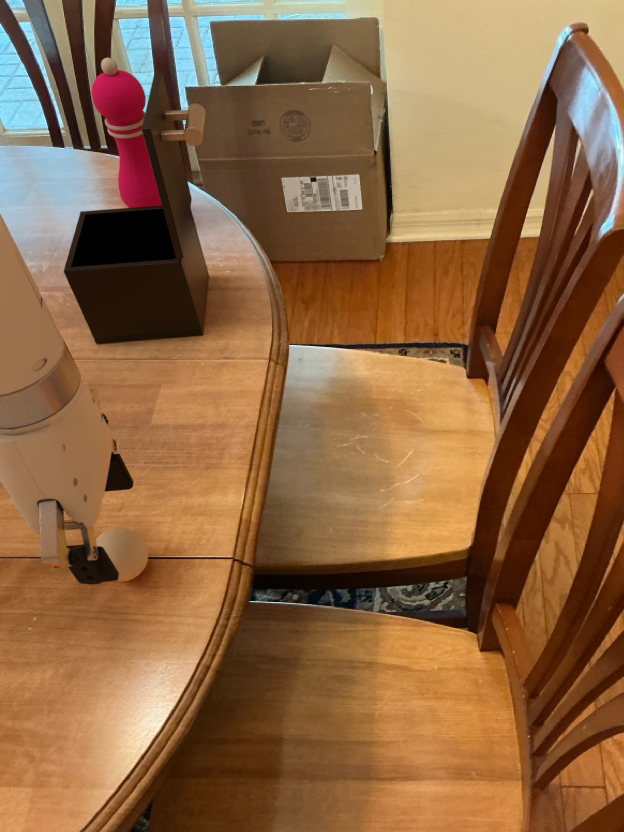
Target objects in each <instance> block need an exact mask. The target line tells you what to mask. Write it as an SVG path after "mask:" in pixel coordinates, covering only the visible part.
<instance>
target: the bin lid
mask: <svg viewBox="0 0 624 832" xmlns="http://www.w3.org/2000/svg"><path fill="white" fill-rule="evenodd" d="M151 81H152V82H151V86H150V91H149V95H148V98H147V99H148V100H147V103H146V108H145V111H144V112H145V117H144V121H143V125H142V132H143V136H144V140H145V143H146V147H147V151H148V155H149V158H150V162H151V166H152V170H153V173H154V177H155V181H156V185H157V188H158V192H159V196H160V200H161V203H162V207H163V211H164V214H165V218H166V222H167V226H168V229H169V233H170V237H171V241H172V244H173V248H174V252H175V256H176V258H184V252H185V244H186V237H187V230H188V222H189V215H190V208H191V209H192V194H191V190H190V186H189V181H188V177H187V173H186V167H185V165H184V159H183V156H182V151H181V147H180V143H179V141H184V142H185V143H186V144H187V145H189V146H191V147H198V146H200V145H201V144H202V143H203V140H204V133H205V126H206V125H205V124H206V118H207V111H206V109H205V107H203V105H201V104H199V103H195V102H194V103H191V104H190V105H189V106H188V107H187V109H179V110H177V109H176V110H175V109H174V110H172V107H171V103H170V99H169V94H168V91H167V86H166V82H165V78H164V73H163V72H154V73H153V77H152V80H151ZM175 121H177V122H178V121H185V123H184V128H183V129H176V125H175Z"/></svg>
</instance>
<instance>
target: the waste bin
mask: <svg viewBox="0 0 624 832" xmlns="http://www.w3.org/2000/svg"><path fill="white" fill-rule="evenodd" d="M204 255H205V254H204V251H203V248H202V245H201V241H200V237H199V234H198V230H197V226H196V222H195V218H194V215H193V211H192V207H191V208H190V215H189V222H188V230H187V237H186V244H185V252H184V258H176V256H175V252H174V248H173V244H172V241H171V237H170V233H169V229H168V226H167V222H166V218H165V214H164V211H163V207H162V205H159V206H146V207H133V208H129V207H121V208H110V209H95V210H83V211H80V212H79V216H78V219H77V222H76V227H75V229H74V232H73V236H72V240H71V243H70V247H69V251H68V254H67V258H66V261H65V265H64V270H63V273H64V276H65V278H66V280H67V282H68V284H69V287H70V289H71V291H72V294H73V295H74V298H75V300H76V302H77V304H78V307H79V309H80V311H81V313H82V316H83V318H84V320H85V322H86V325H87V327H88V329H89V332H90V333H91V336H92V338H93V340H94V342H95V344H96V345H99V344H113V343H124V342H135V341H137V342H138V341H148V340H160V339H161V340H163V339H173V338H186V337H196V336H197V337H198V336H204V331H205V324H206V323H205V322H206V311H207V302H208V291H209V282H210V274H209V270H208V267H207V262H206V259H205V256H204Z"/></svg>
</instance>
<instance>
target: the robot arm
mask: <svg viewBox="0 0 624 832" xmlns="http://www.w3.org/2000/svg"><path fill="white" fill-rule="evenodd" d="M108 425H109V420H108V417H107V416H106V414H105V413H102V406H101V402H100V398H99V395H98V391H97V390H96V388H90V389H89V388H88V387H87V385H86V383H85V382H84V379H83V375H82V374H81V371H80V370H79V367H78V365H77V363H76V361H75V359H74V357H73V355H72V353H71V351H70V349H69V347H68V346H67V344H66V341H65V340H64V337H63V336H62V334H61V332H60V330H59V328H58V325H57V324H56V322H55V320H54V318H53V316H52V314H51V312H50V310H49V308H48V306H47V304H46V301H45V299H44V298H43V296H42V293H41V292H40V289H39V287H38V286H37V284H36V281H35V279H34V278H33V275H32V274H31V272H30V270H29V268H28V266H27V264H26V262H25V260H24V258H23V256H22V254H21V251H20V250H19V247H18V246H17V244H16V242H15V240H14V238H13V235H12V234H11V232H10V230H9V227H8V225H7V223H6V222H5V220H4V218H3V216H2V214H1V213H0V482H1V484H2V485H3V487H4V488H5V490H6V492H7V494H8V495H9V497H10V499H11V500H12V502H13V504H14V506H15V507H16V509H17V511H18V512H19V513H20V515H21V516H22V517H23V519H24V521H25V522H26V524H27V525H28V526H29V528H30V529H31V530H32V531H33V532H34V533H36V534H39V545H40V546H39V548H40V550H39V552H40V553H39V555H40V561H41V563H42V564H43V565H47V566H50V567H53V568H54V569H59V568H60V569H61V568H68V570H69V571H70V572H71V574H72V575H73V577H74V578H75V580H76V581H77V582H78V583H80V584H82V585H89V586H90V585H92V586H93V585H99V584H102V583H107V582H116V581H117V580H118V577H119V572H118V571H117V569H116V567H115V566H114V564H113V562H112V561H111V559H110V558H109V556H108V554H107V553H106V551H105V550H104V548H103V547H101V546H97V544H96V539H97V538H96V535H95V533H96V532H95V528H94V526H95V524H96V523H97V521H98V520H99V519H100V515H101V511H102V506H103V501H104V496H105V493H107V492H116V491H117V492H118V491H129V490H131V489H133V487H134V483H135V482H134V479H133V477H132V475H131V473H130V471H129V469H128V468H127V465H126V463H125V461H124V459H123V457H122V456H121V454H120V453H117V452H118V443H117V440H116V439H115V438H114V437H112V435H111V430H110V429H109V426H108ZM65 515H66V516H67V517H69V518H70V519H65ZM71 530H80V534H81V538H82V539H81V540H82V544H73V545H68V541H67V536H66V531H71Z"/></svg>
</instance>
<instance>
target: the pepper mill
mask: <svg viewBox="0 0 624 832" xmlns="http://www.w3.org/2000/svg"><path fill="white" fill-rule="evenodd" d="M100 67H101V70H102V73H100V74H99V75H98V76H96V78H95V79H94V81H93V83H92V86H91V97H92V103H93V105H94V107H95V109H96V110H97V112H98V113H99V114H100V115H101V116H102V117H104V124H105V126H106V129H107V133H108V134H109V135H110V136H111V137H113V139H114V141H115V143H116V146H117V151H118V156H119V166H118V175H117V183H118V185H117V187H118V191H119V195H120V199H121V201H122V202H123V203H124V204H125V206H126V207H127V208H133V207H146V206H159V205H162V203H161V200H160V196H159V192H158V188H157V185H156V181H155V177H154V173H153V170H152V166H151V162H150V158H149V155H148V151H147V147H146V143H145V140H144V136H143V132H142V125H143V121H144V117H145V112H146V111H145V110H144V109H145V107H146V104H147V103H146V102H147V99H146V97H147V96H146V93H145V90H144V87H143V86H142V84H141V83H140V81H139V79H137V77H136V76H134V75H133V74H132V73H130V72H128V71H126V70H123V69H122V70H121V69H119V67H118V64H117V61H116V60H114V59H113V58H111V57H104V58H103V59H102V60H101V63H100Z"/></svg>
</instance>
